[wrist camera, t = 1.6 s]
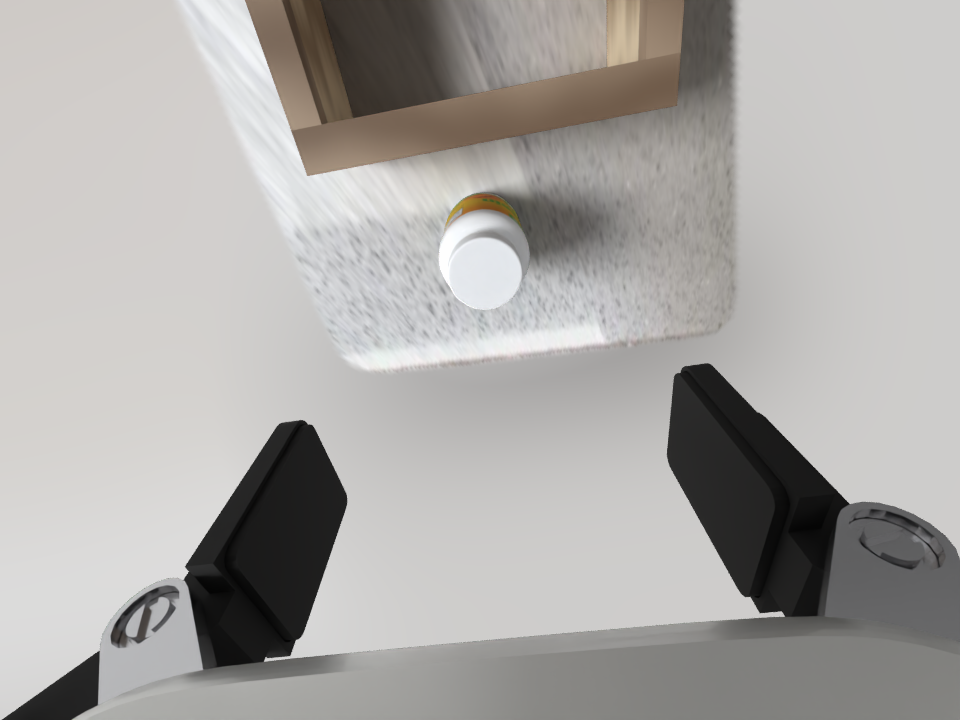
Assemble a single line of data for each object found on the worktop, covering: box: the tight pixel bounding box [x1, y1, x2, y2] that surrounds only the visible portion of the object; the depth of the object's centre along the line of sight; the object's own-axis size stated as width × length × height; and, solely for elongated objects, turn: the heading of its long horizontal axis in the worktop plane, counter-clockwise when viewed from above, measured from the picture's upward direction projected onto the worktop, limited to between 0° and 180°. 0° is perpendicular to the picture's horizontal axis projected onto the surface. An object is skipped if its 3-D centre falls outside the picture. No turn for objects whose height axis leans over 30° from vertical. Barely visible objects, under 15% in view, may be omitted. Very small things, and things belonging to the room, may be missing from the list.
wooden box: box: [245, 0, 684, 176], centre depth 20 cm, size 12×18×8 cm, turn 99°
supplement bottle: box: [439, 193, 530, 310], centre depth 25 cm, size 5×5×10 cm
